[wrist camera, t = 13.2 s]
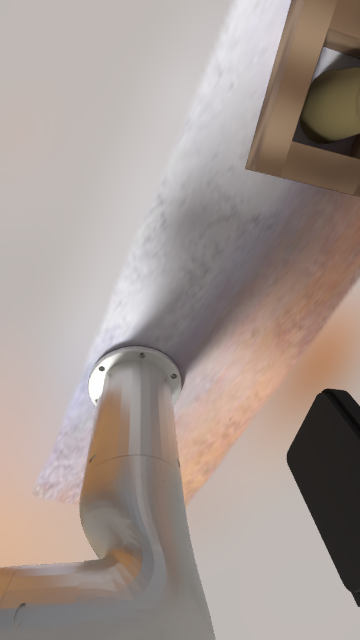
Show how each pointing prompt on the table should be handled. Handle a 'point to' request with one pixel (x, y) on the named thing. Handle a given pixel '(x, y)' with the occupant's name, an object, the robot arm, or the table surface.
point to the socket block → (290, 93)
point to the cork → (332, 106)
